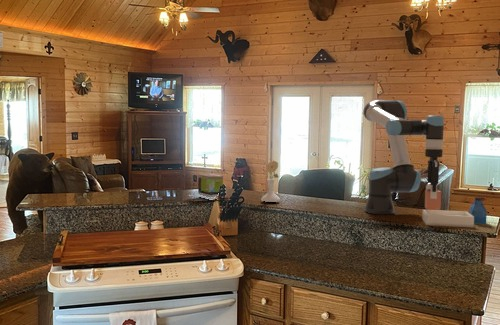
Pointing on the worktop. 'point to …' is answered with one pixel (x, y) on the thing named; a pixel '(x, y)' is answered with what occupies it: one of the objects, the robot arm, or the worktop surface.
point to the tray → (448, 218)
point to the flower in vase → (271, 183)
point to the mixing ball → (428, 187)
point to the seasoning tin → (432, 201)
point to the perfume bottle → (478, 211)
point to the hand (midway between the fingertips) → (432, 197)
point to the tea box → (209, 184)
